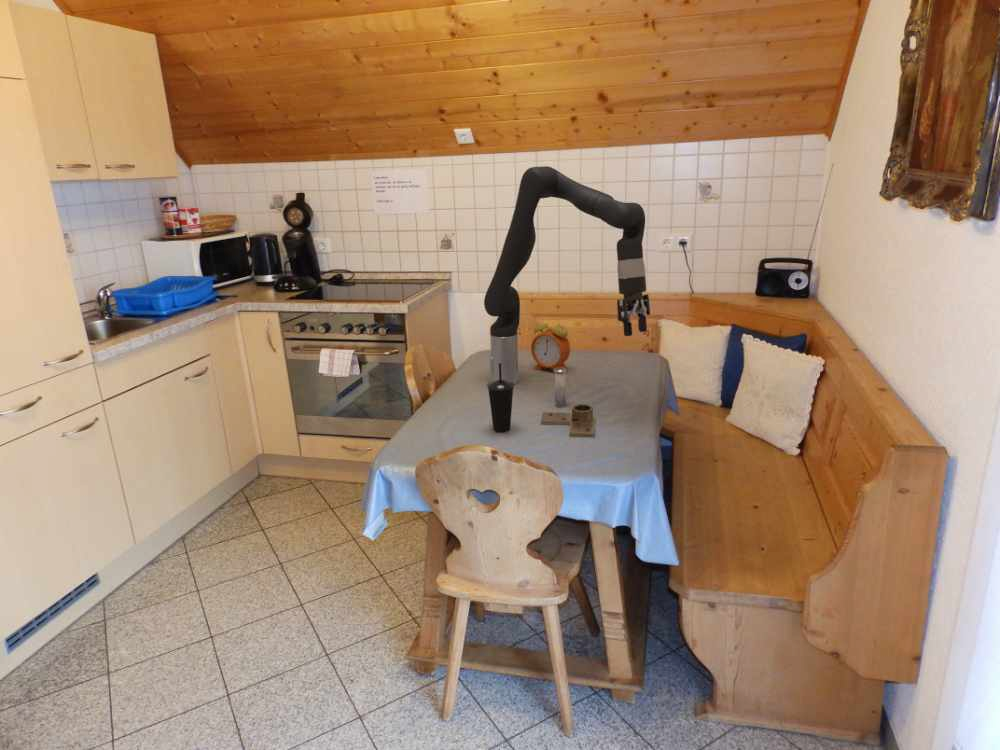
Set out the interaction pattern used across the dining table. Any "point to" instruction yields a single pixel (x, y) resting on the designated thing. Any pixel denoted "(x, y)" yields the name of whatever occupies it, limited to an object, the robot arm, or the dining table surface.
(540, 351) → the alarm clock
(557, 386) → the hinge pin
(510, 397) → the drinking cup
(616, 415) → the dining table surface
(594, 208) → the robot arm
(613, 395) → the dining table surface
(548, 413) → the hinge base
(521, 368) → the dining table surface
